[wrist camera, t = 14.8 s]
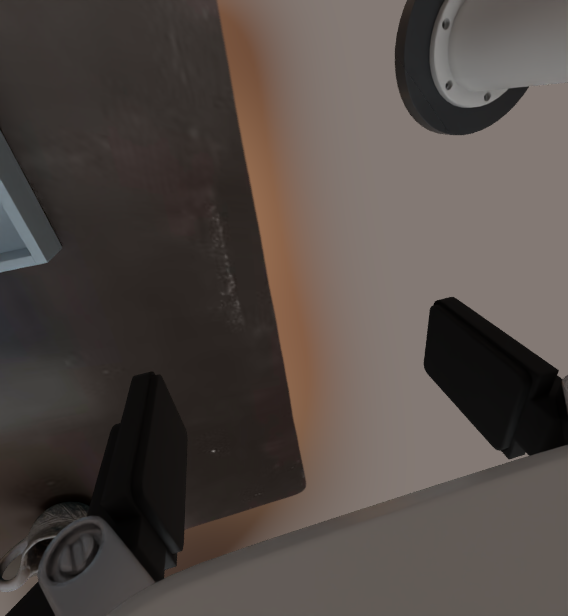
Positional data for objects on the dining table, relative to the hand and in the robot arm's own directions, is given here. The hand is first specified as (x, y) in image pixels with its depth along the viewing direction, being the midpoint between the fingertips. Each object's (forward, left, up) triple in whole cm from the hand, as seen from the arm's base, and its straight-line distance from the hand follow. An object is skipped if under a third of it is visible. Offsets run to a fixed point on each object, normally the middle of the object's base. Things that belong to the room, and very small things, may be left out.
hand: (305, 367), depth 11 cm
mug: (+59, +8, -30) cm, 67 cm away
